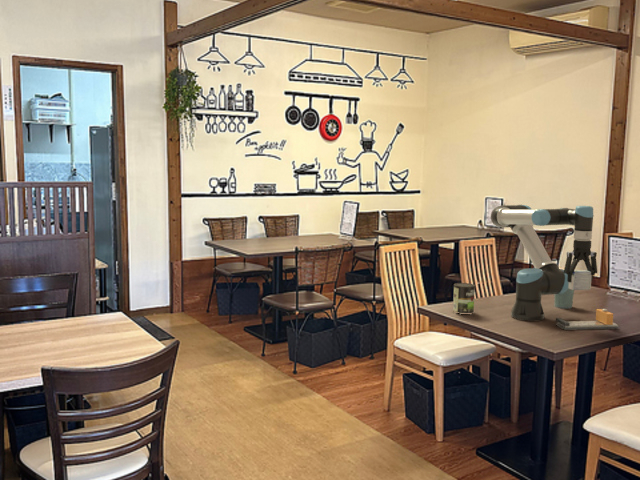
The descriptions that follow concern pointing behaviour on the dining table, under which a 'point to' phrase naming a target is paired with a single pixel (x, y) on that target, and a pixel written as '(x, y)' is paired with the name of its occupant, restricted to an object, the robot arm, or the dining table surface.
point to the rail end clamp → (604, 316)
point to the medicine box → (581, 280)
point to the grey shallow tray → (583, 325)
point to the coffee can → (464, 297)
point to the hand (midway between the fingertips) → (579, 288)
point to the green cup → (564, 299)
